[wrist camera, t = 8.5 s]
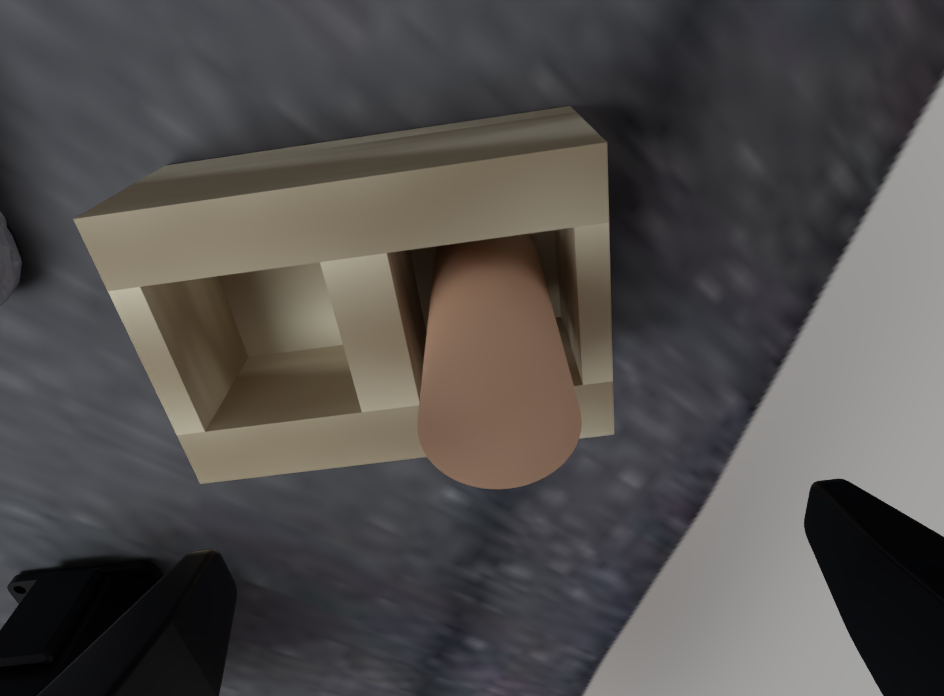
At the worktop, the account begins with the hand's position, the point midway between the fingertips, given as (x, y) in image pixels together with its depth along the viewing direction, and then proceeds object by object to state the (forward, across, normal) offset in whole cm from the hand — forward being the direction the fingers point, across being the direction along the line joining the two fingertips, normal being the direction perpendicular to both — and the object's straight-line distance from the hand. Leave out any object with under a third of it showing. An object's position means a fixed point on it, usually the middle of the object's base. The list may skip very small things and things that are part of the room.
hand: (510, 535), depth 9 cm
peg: (+11, 0, 0) cm, 11 cm away
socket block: (+12, +3, 0) cm, 12 cm away
